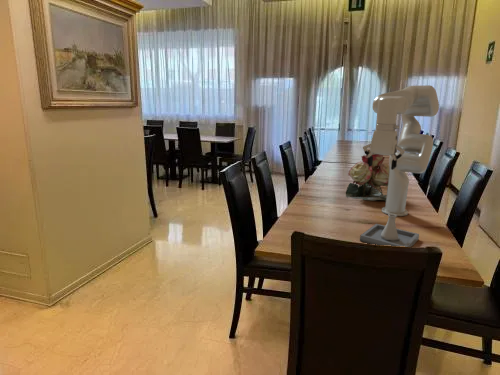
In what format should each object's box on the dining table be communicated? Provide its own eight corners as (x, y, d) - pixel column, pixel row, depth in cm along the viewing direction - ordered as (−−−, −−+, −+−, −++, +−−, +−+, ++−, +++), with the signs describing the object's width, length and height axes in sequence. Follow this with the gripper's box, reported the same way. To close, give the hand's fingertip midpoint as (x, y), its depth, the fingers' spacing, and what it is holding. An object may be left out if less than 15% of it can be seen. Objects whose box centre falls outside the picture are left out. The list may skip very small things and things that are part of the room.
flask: (394, 234, 143) (397, 212, 141) (402, 241, 136) (405, 218, 134) (377, 234, 143) (380, 212, 140) (384, 241, 136) (387, 218, 133)
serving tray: (375, 228, 152) (376, 223, 151) (418, 239, 141) (419, 233, 140) (359, 240, 139) (360, 235, 138) (405, 253, 128) (406, 247, 127)
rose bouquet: (343, 199, 198) (347, 148, 190) (352, 187, 223) (356, 142, 215) (389, 205, 186) (396, 151, 179) (394, 193, 212) (400, 145, 204)
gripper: (409, 128, 138) (404, 168, 143) (368, 125, 149) (364, 163, 154) (404, 130, 133) (399, 172, 138) (361, 127, 143) (358, 166, 148)
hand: (381, 167), depth 146 cm, fingers open, 9 cm apart
